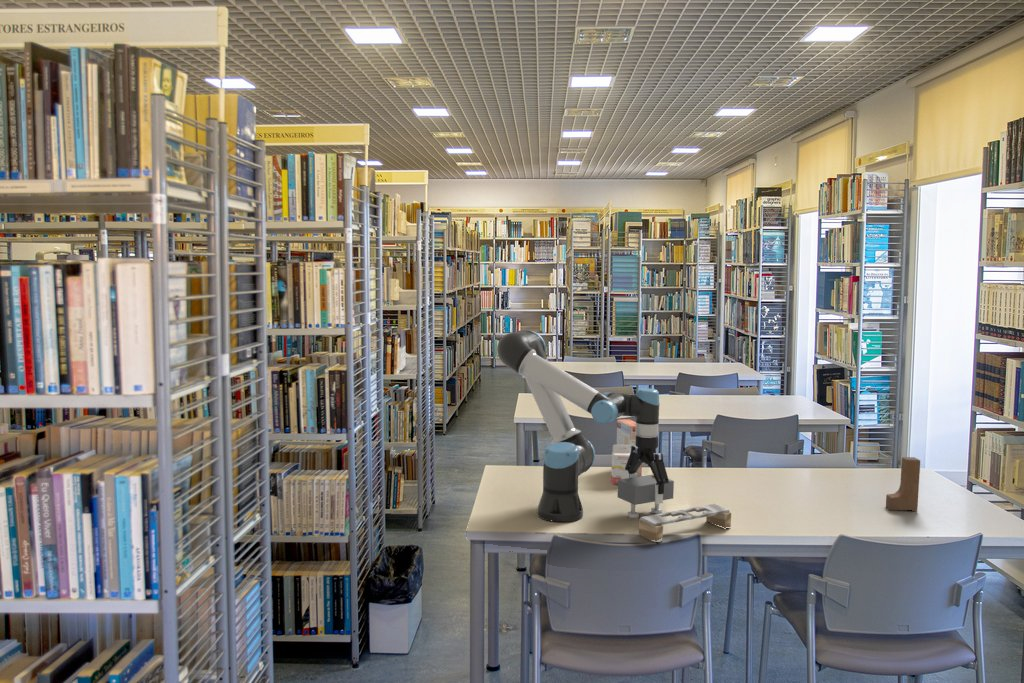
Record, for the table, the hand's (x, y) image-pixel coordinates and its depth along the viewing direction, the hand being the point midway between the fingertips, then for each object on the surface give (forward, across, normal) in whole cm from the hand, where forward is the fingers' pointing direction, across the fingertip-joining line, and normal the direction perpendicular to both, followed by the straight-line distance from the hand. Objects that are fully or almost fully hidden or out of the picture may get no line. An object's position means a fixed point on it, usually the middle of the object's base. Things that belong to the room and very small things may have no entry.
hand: (645, 497), depth 251 cm
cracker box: (+6, +45, -27) cm, 53 cm away
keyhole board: (+6, -19, -1) cm, 20 cm away
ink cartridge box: (+6, +34, -16) cm, 38 cm away
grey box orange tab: (+6, 0, 0) cm, 6 cm away
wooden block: (+7, -35, -84) cm, 91 cm away
